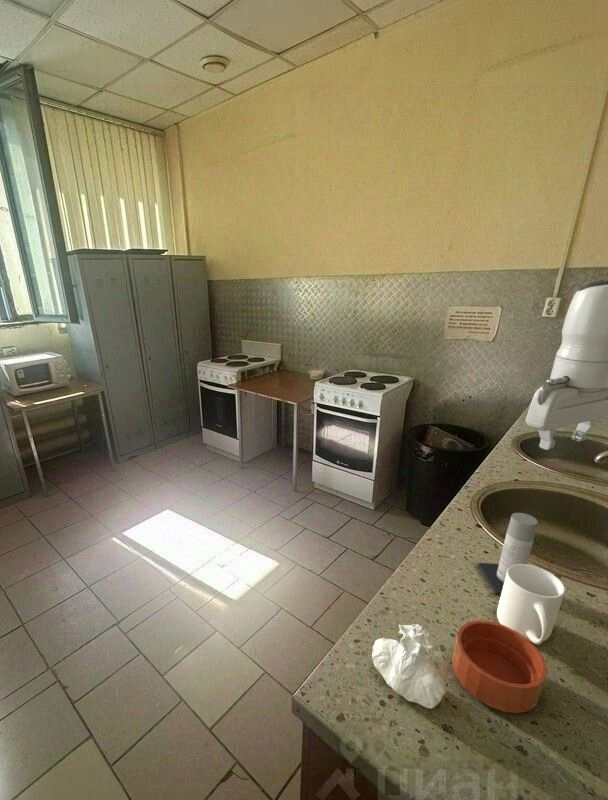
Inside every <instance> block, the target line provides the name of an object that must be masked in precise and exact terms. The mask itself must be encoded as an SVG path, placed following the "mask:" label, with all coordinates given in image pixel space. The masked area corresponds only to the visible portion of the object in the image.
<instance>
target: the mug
mask: <svg viewBox="0 0 608 800" xmlns="http://www.w3.org/2000/svg"><path fill="white" fill-rule="evenodd" d="M565 594H566V587H565V585H564V582H562V581H561V579H559V578H558V577H557V576H556V575H555V574H553V573H551V572H550V571H548V570H546V569H544V568H542V567H539V566H537V565H533V564H528V563H527V564H515V565H512V566H510V567H509V568H508V570H507V573H506V577H505V581H504V585H503V589H502V593H501V595H500V597H499V602H498V605H497V610H496V617H497V620H498V622H499V624H501V625H504V626H506V627H508V628H510V629H512V630H514V631H516V632H518V633H519V634H521V635H522V636H524V637H525V638H526V639H528V640H529V641H530V642H531V643H532V644H533V645H538V646H539V645H541V644H543V642H545V641H547V640H548V639H549V638H550V637H551V635H552V633H553V629H554V626H555V623H556V620H557V618H558V614H559V611H560V608H561V605H562V603H563V600H564V596H565Z"/></svg>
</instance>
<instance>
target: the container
mask: <svg viewBox="0 0 608 800" xmlns="http://www.w3.org/2000/svg"><path fill="white" fill-rule="evenodd" d="M538 524H539V521H538V519H537V518H535V517H534V516H532V515H530V514H528V513H523V512H514V513H511V516H510V520H509V523H508V527H507V531H506V533H505V538H504V542H503V545H502V550H501V554H500V558H499V563H498V564H499V566H498V570H497V577H498V578H499V579H500V580H501V581H503V582H504V581H505V577H506V573H507V570H508V568H509V567H510V566H512V565H515V564H527V565H528V562H529V559H530V555H531V551H532V548H533V545H534V540H535V536H536V531H537V528H538Z"/></svg>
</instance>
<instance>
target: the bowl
mask: <svg viewBox="0 0 608 800" xmlns="http://www.w3.org/2000/svg"><path fill="white" fill-rule="evenodd" d="M451 666H452V670H453V672H454V674H455V676H456V679H457V680H458V681H459V683H460V684H461V685H462V687H463V688H464V689H465V690H466V691H467V692H468V693H469V694H471V696H473V697H474V698H475V699H476V700H478V701H480V702H481V703H483V704H485V705H486V706H488V707H490V708H493V709H495V710H497V711H500V712H504V713H511V714H521V713H526V712H530V711H531V710H532V709H533V708H535V707H536V706H537V705H538V702H539V700H540V697H541V694H542V691H543V687H544V685H545V681H546V678H547V675H548V668H547V664H546V660H545V659H544V657H543V655H542V653H541V652H540V650H539V649H538V648H537V647H536V646H535V644H534V643H533V642H530V641H529V640H528V639H526V638H525V637H524V636H522V635H521V634H519V633H518V632H516V631H514V630H512V629H510V628H508V627H506V626H504V625H501V624H500V623H498V622H494V621H491V620H481V619H479V620H472V621H467V622H466V623H464V624H462V625H461V626H460V627H459V629H458V631H457V633H456V637H455V641H454V646H453V651H452V656H451Z"/></svg>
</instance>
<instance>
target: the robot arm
mask: <svg viewBox="0 0 608 800" xmlns="http://www.w3.org/2000/svg"><path fill="white" fill-rule="evenodd" d="M552 365H553V366H552V369H551V372H550V377H549V378H548V379H547V380H546V381H545V383H544V384H543V385H541V386H540V387H539V388H537V390H536V391H535V392H534V395H533V397H532V399H531V402H530V404H529V407H528V410H527V413H526V417H525V423H526V427H528V428H531V429H534V430H537V431H538V434H539V438H540V442H539V444H538V446H539V448H540V449H542V450H545V451H549V450H552V449H554V448H555V445H556V440H555V439H554V434H555V433H556V430H557V429H561V428H566V427H569V426H575V425H577V426H576V428H575V429H574V430H572V433H571V436H570V439H571V440H572V441H576V442H582V441H585V440H586V439H587V436H588V433H589V432H590V431H591V429H592V428H593V427H594V426H595V424H596V420H600V419H604V418H607V417H608V278H606V279H599V280H596V281H593V282H588V283H586V284H584V285H583V286H581V287H580V288H579V289H578V290H576V292H575V293H574V295H573V297H572V299H571V301H570V303H569V307H568V309H567V312H566V315H565V318H564V321H563V325H562V328H561V344H560V346H559V348H558V349H557V352H556V353H555V358H554V361H553V364H552Z"/></svg>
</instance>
